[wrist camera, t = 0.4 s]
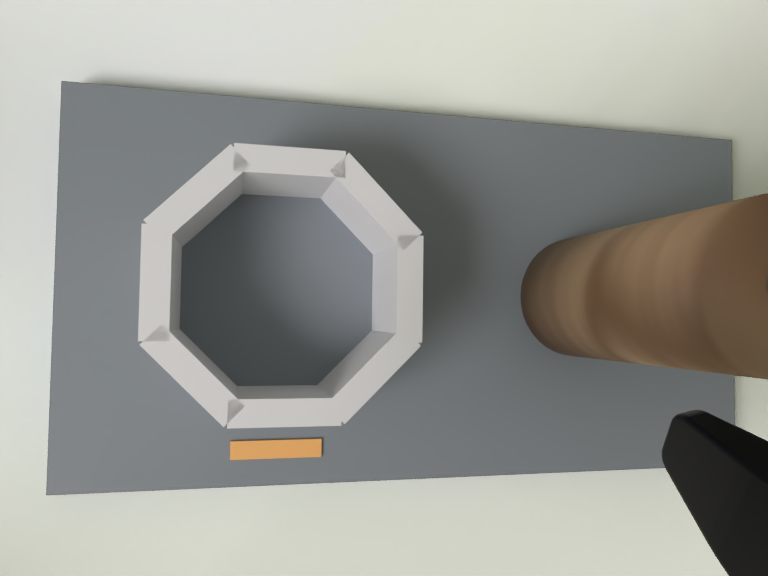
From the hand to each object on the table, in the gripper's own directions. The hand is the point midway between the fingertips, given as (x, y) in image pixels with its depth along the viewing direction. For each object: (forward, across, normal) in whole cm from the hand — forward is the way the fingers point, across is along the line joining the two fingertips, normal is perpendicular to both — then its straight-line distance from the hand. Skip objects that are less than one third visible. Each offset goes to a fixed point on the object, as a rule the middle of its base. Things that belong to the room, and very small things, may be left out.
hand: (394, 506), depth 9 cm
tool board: (+13, -6, +6) cm, 15 cm away
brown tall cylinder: (+12, -11, +6) cm, 17 cm away
